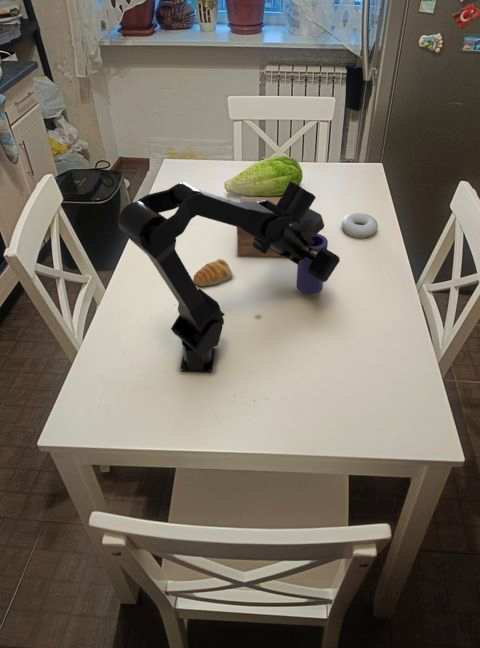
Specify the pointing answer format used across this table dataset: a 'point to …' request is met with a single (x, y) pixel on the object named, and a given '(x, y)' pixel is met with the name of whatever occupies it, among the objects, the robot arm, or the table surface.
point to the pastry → (213, 273)
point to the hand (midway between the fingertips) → (315, 262)
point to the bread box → (251, 246)
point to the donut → (359, 225)
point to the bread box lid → (259, 199)
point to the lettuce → (266, 177)
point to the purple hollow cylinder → (304, 279)
